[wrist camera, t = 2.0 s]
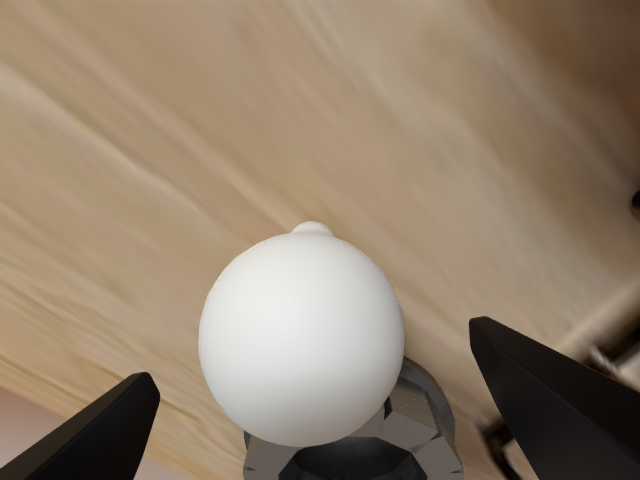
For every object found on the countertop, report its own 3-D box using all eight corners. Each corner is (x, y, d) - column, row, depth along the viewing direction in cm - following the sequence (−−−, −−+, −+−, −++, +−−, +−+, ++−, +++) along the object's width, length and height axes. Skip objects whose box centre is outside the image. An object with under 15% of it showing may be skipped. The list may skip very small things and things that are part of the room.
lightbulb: (302, 157, 16) (262, 235, 6) (393, 231, 17) (493, 404, 7) (234, 245, 18) (107, 428, 7) (320, 306, 19) (315, 532, 9)
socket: (492, 400, 21) (528, 460, 18) (376, 512, 26) (384, 579, 22) (309, 309, 19) (305, 356, 15) (215, 450, 23) (195, 513, 20)
